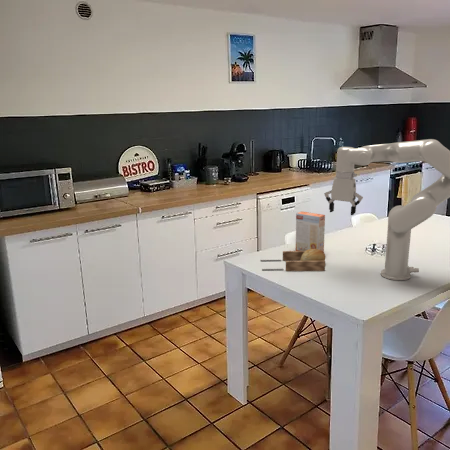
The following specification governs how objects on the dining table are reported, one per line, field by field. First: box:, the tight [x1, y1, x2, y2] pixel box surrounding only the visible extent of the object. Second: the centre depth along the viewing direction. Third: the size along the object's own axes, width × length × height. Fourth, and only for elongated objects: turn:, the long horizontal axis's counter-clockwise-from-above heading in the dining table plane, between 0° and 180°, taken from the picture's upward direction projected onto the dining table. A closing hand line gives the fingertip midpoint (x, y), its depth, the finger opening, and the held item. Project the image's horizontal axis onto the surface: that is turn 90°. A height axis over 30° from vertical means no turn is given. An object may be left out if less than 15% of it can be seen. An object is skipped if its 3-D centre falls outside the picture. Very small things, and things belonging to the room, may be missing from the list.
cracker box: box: [295, 211, 326, 253], centre depth 232 cm, size 14×6×21 cm, turn 47°
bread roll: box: [300, 249, 327, 261], centre depth 215 cm, size 10×15×8 cm, turn 133°
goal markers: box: [260, 259, 285, 272], centre depth 217 cm, size 10×14×1 cm
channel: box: [282, 250, 326, 272], centre depth 216 cm, size 18×16×4 cm
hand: (341, 213), depth 202 cm, fingers open, 9 cm apart
